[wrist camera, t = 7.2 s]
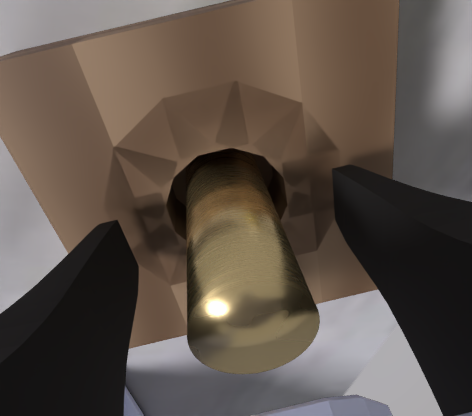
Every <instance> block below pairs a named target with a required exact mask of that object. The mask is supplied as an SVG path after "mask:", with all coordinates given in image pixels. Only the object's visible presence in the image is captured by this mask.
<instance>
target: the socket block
mask: <svg viewBox="0 0 472 416" xmlns="http://www.w3.org/2000/svg"><path fill="white" fill-rule="evenodd" d="M398 21H399V0H231V1H227V2H223V3H219V4H214V5H210V6H206V7H202V8H197V9H193V10H189V11H185V12H181V13H176V14H172V15H168V16H164V17H159V18H155V19H151V20H147V21H143V22H138V23H134V24H130V25H126V26H121V27H117V28H113V29H109V30H104V31H100V32H96V33H92V34H88V35H83V36H79V37H75V38H71V39H66V40H62V41H58V42H54V43H50V44H45V45H41V46H37V47H33V48H28V49H24V50H20V51H16V52H13V53H10V54H7V55H4V56H1V57H0V137H1V139H2V140H3V142H4V144H5V145H6V147H7V149H8V151H9V152H10V154H11V156H12V157H13V159H14V161H15V163H16V164H17V166H18V168H19V170H20V171H21V173H22V175H23V176H24V178H25V180H26V182H27V183H28V185H29V187H30V188H31V190H32V192H33V194H34V195H35V197H36V199H37V200H38V202H39V204H40V206H41V207H42V209H43V211H44V212H45V214H46V216H47V218H48V219H49V221H50V223H51V225H52V226H53V228H54V230H55V231H56V233H57V235H58V237H59V238H60V240H61V242H62V243H63V245H64V247H65V249H66V250H67V252H68V254H69V253H70V252H71V251H72V250H73V249H74V248H75V247H76V246H77V245H78V244H79V243H80V242H81V241H82V240H83V239H84V238H85V237H86V236H87V235H88V234H89V233H90V232H91V231H92V230H93V229H94V228H95V227H96V226H97V225H99V224H101V223H105V222H109V221H113V220H118V222H119V224H120V226H121V228H122V231H123V233H124V235H125V237H126V239H127V242H128V244H129V246H130V248H131V250H132V253H133V255H134V257H135V259H136V261H137V263H138V266H139V286H138V297H137V304H136V310H135V315H134V321H133V327H132V332H131V338H130V344H129V348H133V347H138V346H142V345H146V344H150V343H154V342H159V341H163V340H167V339H171V338H175V337H180V336H184V335H187V253H186V170H187V166H188V164H189V163H190V162H191V161H192V160H194V159H195V158H196V157H197V156H198V155H203V154H207V153H211V152H215V151H219V150H224V149H228V148H235V149H239V150H242V151H246V152H250V153H251V155H252V156H253V157H254V159H255V161H256V163H257V166H258V168H259V171H260V173H261V175H262V178H263V180H264V183H265V185H266V187H267V190H268V192H269V194H270V197H271V199H272V202H273V204H274V206H275V209H276V211H277V214H278V216H279V218H280V221H281V223H282V226H283V228H284V230H285V233H286V235H287V238H288V240H289V242H290V245H291V247H292V249H293V252H294V254H295V257H296V259H297V261H298V264H299V266H300V269H301V271H302V273H303V276H304V278H305V281H306V283H307V285H308V288H309V290H310V293H311V295H312V297H313V300H314V302H315V304H318V303H322V302H327V301H331V300H335V299H339V298H343V297H348V296H352V295H356V294H360V293H364V292H369V291H373V290H377V289H378V288H377V287H376V285H375V284H374V282H373V281H372V280H371V278H370V277H369V275H368V274H367V272H366V271H365V269H364V268H363V267H362V265H361V264H360V262H359V261H358V259H357V258H356V256H355V255H354V254H353V252H352V251H351V249H350V248H349V246H348V245H347V243H346V241H345V239H344V237H343V235H342V233H341V231H340V229H339V227H338V225H337V223H336V221H335V212H334V196H333V180H332V168H337V167H341V166H345V165H349V164H351V165H354V166H358V167H361V168H363V169H366V170H369V171H371V172H374V173H376V174H379V175H382V176H384V177H387V178H390V179H392V174H393V148H394V123H395V98H396V72H397V47H398Z"/></svg>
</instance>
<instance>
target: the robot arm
mask: <svg viewBox="0 0 472 416" xmlns="http://www.w3.org/2000/svg"><path fill="white" fill-rule="evenodd" d="M332 180H333V196H334V212H335V221H336V223H337V225H338V227H339V229H340V231H341V233H342V235H343V237H344V239H345V241H346V243H347V245H348V246H349V248H350V249H351V251H352V252H353V254H354V255H355V256H356V258H357V259H358V261H359V262H360V264H361V265H362V267H363V268H364V269H365V271H366V272H367V274H368V275H369V277H370V278H371V280H372V281H373V282H374V284H375V285H376V287H377V288H378V290H379V291H380V292H381V294H382V296H383V297H384V299H385V300H386V302H387V304H388V305H389V307H390V309H391V311H392V313H393V315H394V317H395V318H396V320H397V322H398V324H399V326H400V328H401V329H402V331H403V333H404V335H405V337H406V339H407V341H408V343H409V345H410V347H411V349H412V351H413V353H414V355H415V357H416V359H417V361H418V363H419V365H420V367H421V369H422V371H423V373H424V375H425V377H426V379H427V381H428V384H429V386H430V388H431V389H432V392H433V394H434V396H435V398H436V400H437V403H438V405H439V407H440V409H441V412H442V414H443V416H472V202H469V201H464V200H460V199H455V198H451V197H447V196H443V195H439V194H435V193H432V192H428V191H425V190H422V189H419V188H415V187H412V186H409V185H406V184H403V183H401V182H398V181H395V180H392V179H390V178H387V177H384V176H382V175H379V174H376V173H374V172H371V171H369V170H366V169H363V168H361V167H358V166H354V165H351V164H349V165H345V166H341V167H337V168H332ZM138 286H139V266H138V263H137V261H136V259H135V257H134V255H133V253H132V250H131V248H130V246H129V244H128V242H127V239H126V237H125V235H124V233H123V231H122V228H121V226H120V224H119V222H118V220H113V221H109V222H105V223H101V224H99V225H97V226H96V227H95V228H94V229H93V230H92V231H91V232H90V233H89V234H88V235H87V236H86V237H85V238H84V239H83V240H82V241H81V242H80V243H79V244H78V245H77V246H76V247H75V248H74V249H73V250H72V251H71V252H70V253H69V254H68V255H67V256H66V257H65V258H64V259H63V260H62V261H61V262H60V263H59V264H58V265H57V266H56V267H55V268H54V269H53V270H52V271H50V272H49V273H48V274H47V275H46V276H45V277H44V278H43V279H42V280H41V281H40V282H39V283H38V284H37V285H36V286H34V287H33V288H32V289H31V290H30V291H29V292H27V293H26V294H25V295H24V296H23V297H21V298H20V299H19V300H18V301H16V302H15V303H14V304H13V305H11V306H10V307H9V308H8V309H6V310H5V311H4V312H2V313H1V314H0V416H144V415H143V413H142V412H141V410H140V408H139V407H138V405H137V404H136V402H135V401H134V399H133V397H132V396H131V394H130V393H129V391H128V390H127V388H126V386H125V377H126V364H127V356H128V349H129V344H130V338H131V332H132V327H133V321H134V315H135V310H136V304H137V297H138ZM251 416H393V415H392V413H391V411H390V409H389V407H388V405H385V404H383V403H380V402H377V401H374V400H371V399H368V398H365V397H362V396H359V395H350V396H338V397H326V398H322V399H318V400H314V401H309V402H305V403H301V404H297V405H293V406H288V407H284V408H280V409H276V410H272V411H267V412H263V413H259V414H255V415H251Z"/></svg>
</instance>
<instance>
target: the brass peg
mask: <svg viewBox="0 0 472 416" xmlns="http://www.w3.org/2000/svg"><path fill="white" fill-rule="evenodd" d="M186 253H187V340H188V345H189V348H190V350H191V351H192V353H193V355H194V356H195V357H196V358H197V359H198V360H199V361H200V362H201V363H203V364H205V365H206V366H208V367H210V368H212V369H215V370H218V371H221V372H225V373H232V374H253V373H260V372H265V371H268V370H272V369H275V368H277V367H280V366H282V365H284V364H286V363H288V362H290V361H292V360H293V359H295V358H296V357H298V356H299V355H300V354H302V353H303V352H304V351H305V350H306V349H307V348H308V347H309V346H310V344H311V343H312V342H313V340H314V338H315V336H316V334H317V332H318V329H319V323H320V319H319V312H318V309H317V307H316V304H315V302H314V300H313V297H312V295H311V293H310V290H309V288H308V285H307V283H306V281H305V278H304V276H303V273H302V271H301V269H300V266H299V264H298V261H297V259H296V257H295V254H294V252H293V249H292V247H291V245H290V242H289V240H288V238H287V235H286V233H285V230H284V228H283V226H282V223H281V221H280V218H279V216H278V214H277V211H276V209H275V206H274V204H273V202H272V199H271V197H270V194H269V192H268V190H267V187H266V185H265V183H264V180H263V178H262V175H261V173H260V171H259V168H258V166H257V163H256V161H255V159H254V157H253V156H252V155H251V153H250V152H246V151H242V150H239V149H235V148H228V149H224V150H219V151H215V152H211V153H207V154H203V155H198V156H197V157H196V158H195V159H194V160H192V161H191V162H190V163H189V164H188V166H187V170H186Z"/></svg>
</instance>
